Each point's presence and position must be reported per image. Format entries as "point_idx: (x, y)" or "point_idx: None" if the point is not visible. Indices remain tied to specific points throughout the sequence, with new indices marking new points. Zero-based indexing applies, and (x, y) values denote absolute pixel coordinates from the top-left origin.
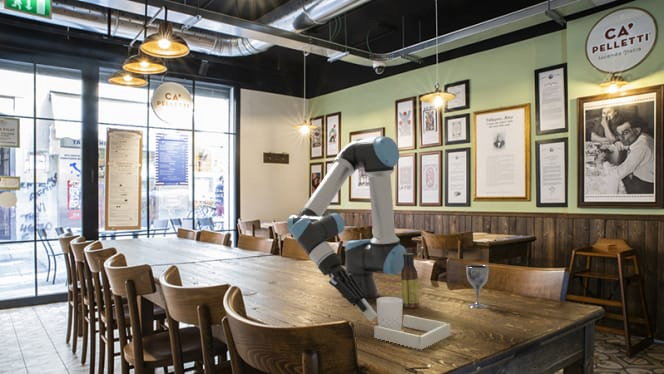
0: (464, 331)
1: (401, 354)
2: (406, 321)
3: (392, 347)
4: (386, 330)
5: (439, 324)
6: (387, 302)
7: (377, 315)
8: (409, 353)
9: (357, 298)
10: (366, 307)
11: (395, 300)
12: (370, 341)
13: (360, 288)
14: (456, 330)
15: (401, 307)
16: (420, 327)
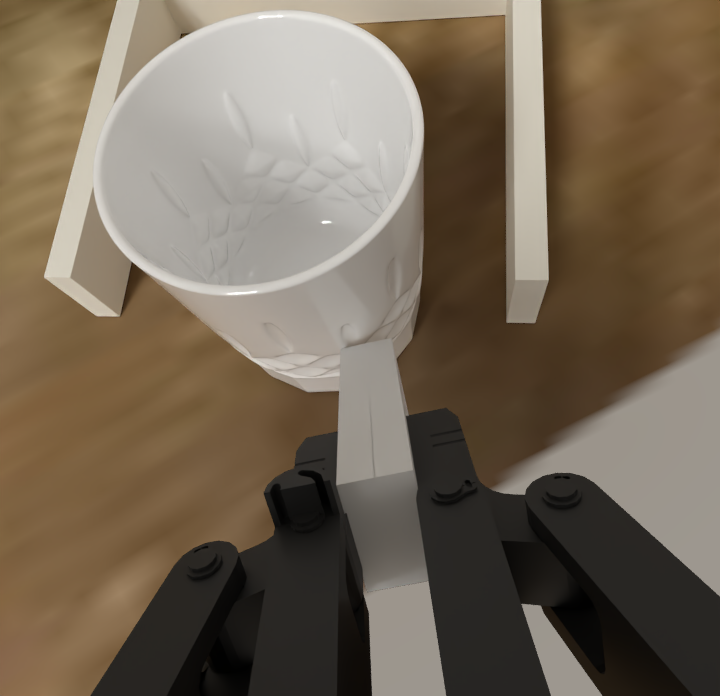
0: (48, 3)
1: (678, 36)
2: (104, 270)
3: (607, 133)
4: (544, 170)
5: (146, 13)
6: (161, 267)
7: (375, 327)
8: (625, 16)
9: (532, 484)
10: (409, 424)
11: (123, 174)
12: (613, 310)
13: (136, 670)
14: (48, 38)
15: (270, 68)
16: None
